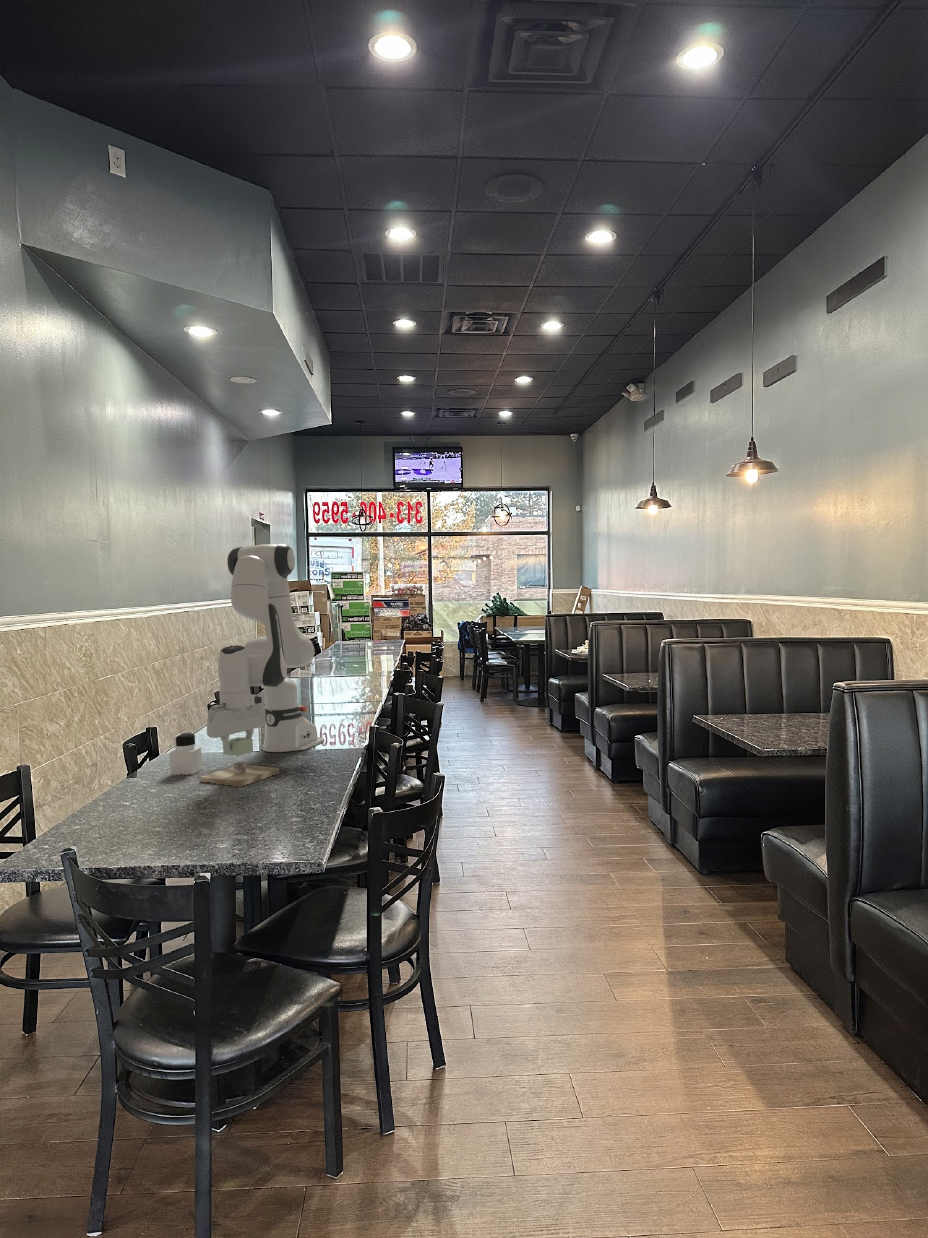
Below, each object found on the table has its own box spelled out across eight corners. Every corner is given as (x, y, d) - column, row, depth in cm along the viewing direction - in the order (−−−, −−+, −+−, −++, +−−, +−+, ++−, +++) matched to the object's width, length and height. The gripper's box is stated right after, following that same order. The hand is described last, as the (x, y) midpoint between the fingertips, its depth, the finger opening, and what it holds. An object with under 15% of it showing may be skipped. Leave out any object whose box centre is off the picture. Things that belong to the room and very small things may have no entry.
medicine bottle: (202, 769, 248) (200, 731, 248) (192, 775, 241) (190, 736, 240) (180, 769, 249) (178, 731, 248) (170, 775, 242) (167, 736, 241)
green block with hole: (238, 750, 238) (237, 737, 238) (253, 751, 235) (252, 738, 235) (223, 754, 233) (222, 741, 233) (238, 756, 230) (237, 742, 230)
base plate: (240, 769, 246) (240, 754, 246) (279, 773, 238) (278, 758, 238) (200, 781, 232) (199, 766, 232) (239, 787, 224) (238, 771, 224)
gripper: (215, 707, 223) (218, 755, 224) (267, 696, 241) (270, 741, 241) (200, 706, 226) (203, 753, 227) (252, 695, 244) (255, 740, 244)
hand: (238, 747), depth 234 cm, fingers closed on green block with hole, 6 cm apart
